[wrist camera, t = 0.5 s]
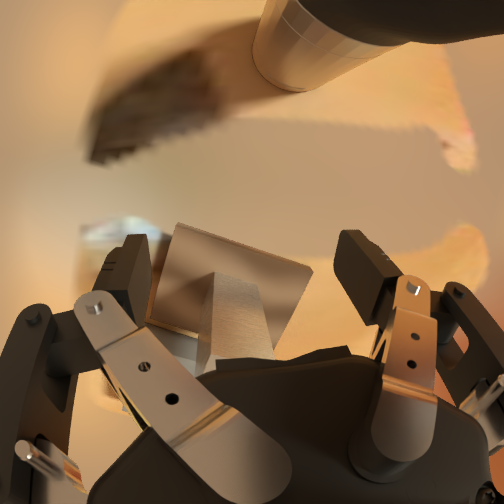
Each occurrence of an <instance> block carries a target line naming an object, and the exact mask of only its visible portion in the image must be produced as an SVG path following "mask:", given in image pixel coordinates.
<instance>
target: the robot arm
mask: <svg viewBox="0 0 504 504" xmlns="http://www.w3.org/2000/svg"><path fill="white" fill-rule="evenodd" d="M500 34H504V0H267V2H266V5H265V8H264V11H263V14H262V17H261V20H260V23H259V26H258V29H257V32H256V35H255V38H254V42H253V47H252V56H253V60H254V63H255V65H256V67H257V69H258V71H259V72H260V73H261V75H262V76H263V77H264V78H265V79H266V80H268V81H269V82H270V83H271V84H273V85H275V86H277V87H279V88H281V89H285V90H288V91H294V92H304V91H309V90H313V89H316V88H318V87H320V86H321V85H323V84H325V83H327V82H329V81H331V80H333V79H335V78H336V77H338V76H340V75H342V74H344V73H346V72H348V71H350V70H352V69H354V68H356V67H357V66H359V65H361V64H363V63H365V62H367V61H369V60H372V59H374V58H376V57H378V56H380V55H382V54H384V53H386V52H388V51H390V50H392V49H394V48H397V47H399V46H401V45H403V44H405V43H408V42H410V41H412V42H419V43H427V44H447V43H454V42H459V41H464V40H469V39H474V38H480V37H486V36H492V35H500ZM333 266H334V272H335V275H336V277H337V278H338V280H339V281H340V283H341V285H342V286H343V288H344V290H345V291H346V293H347V295H348V296H349V298H350V300H351V301H352V303H353V304H354V306H355V308H356V310H357V311H358V313H359V315H360V316H361V318H362V320H363V321H364V323H365V325H366V326H369V325H375V324H378V326H379V327H378V329H377V332H376V335H375V338H374V342H373V346H372V349H371V353H370V356H369V358H368V357H364V356H360V355H351V353H350V350H349V348H348V346H347V345H345V346H339V347H333V348H326V349H319V350H316V351H313V352H310V353H308V354H305V355H302V356H300V357H297V358H294V359H291V360H287V361H282V360H272V359H262V358H253V357H246V358H231V359H215V363H216V370H212V371H209V372H206V373H204V374H201V375H199V376H197V377H196V378H195V377H194V376H193V375H192V374H191V373H190V372H189V371H188V370H187V369H186V368H185V367H184V366H183V365H182V364H181V363H180V362H179V361H178V360H177V359H176V358H175V357H174V356H173V355H172V354H171V353H170V352H169V351H168V350H167V349H166V348H165V347H164V345H163V344H162V343H161V342H160V341H159V340H158V339H157V338H156V337H155V336H154V335H153V333H152V332H151V331H150V330H149V329H148V328H147V327H145V326H144V322H145V316H146V310H147V305H148V299H149V294H150V288H151V283H152V268H151V261H150V254H149V247H148V239H147V235H146V234H130V235H127V237H126V239H125V242H124V244H123V246H122V247H115V248H114V249H113V250H112V251H111V252H110V253H109V254H108V255H107V257H106V259H105V261H104V264H103V266H102V268H101V271H100V273H99V275H98V277H97V279H96V282H95V284H94V287H93V289H92V291H91V292H88V293H86V294H84V295H82V296H81V297H80V298H78V300H77V301H76V302H75V304H74V309H73V310H70V311H66V312H62V313H57V314H52V312H51V310H50V308H49V307H48V306H47V305H45V304H33V305H31V306H28V307H27V308H25V309H24V310H23V311H22V312H21V313H20V314H19V315H18V317H17V319H16V321H15V324H14V326H13V328H12V330H11V332H10V334H9V337H8V339H7V341H6V344H5V346H4V349H3V351H2V354H1V356H0V504H504V496H503V495H501V494H500V493H499V492H498V491H497V490H496V488H495V487H494V485H493V482H492V478H491V473H490V466H489V456H491V455H493V454H495V453H496V452H497V451H499V450H500V449H501V448H502V447H504V332H503V330H502V329H501V328H500V327H499V325H498V324H497V323H496V322H495V320H494V319H493V318H492V316H491V315H490V314H489V313H488V311H487V310H486V309H485V308H484V306H483V305H482V304H481V303H480V302H479V300H477V298H476V297H475V296H474V295H473V293H472V292H471V291H470V290H469V289H468V288H467V287H465V286H464V285H462V284H460V283H457V282H448V283H447V284H446V285H445V287H444V290H443V292H438V291H431V290H430V288H429V286H428V285H427V284H426V283H425V282H424V281H423V280H421V279H420V278H418V277H415V276H412V275H404V274H403V273H402V272H401V271H400V270H399V268H398V267H397V266H396V265H395V264H394V263H393V262H392V260H390V258H389V257H388V256H387V255H386V254H385V253H384V252H383V250H382V249H381V248H380V247H379V246H377V245H376V244H374V243H373V242H371V241H369V240H368V239H367V238H366V236H364V234H363V233H362V232H361V231H360V230H342V231H341V233H340V235H339V240H338V244H337V249H336V253H335V258H334V264H333ZM459 326H460V327H461V328H462V330H463V331H464V333H465V334H466V336H467V337H468V340H469V346H468V349H467V351H466V352H465V354H464V353H463V352H462V350H461V349H460V347H459V346H458V344H457V343H456V341H455V340H454V338H453V335H454V333H455V332H456V330H457V328H458V327H459ZM96 369H100V370H101V372H102V373H103V375H104V377H105V378H106V380H107V381H108V383H109V384H110V386H111V387H112V389H113V390H114V392H115V393H116V395H117V396H118V398H119V399H120V401H121V402H122V403H123V405H124V406H125V408H126V409H127V411H128V412H129V414H130V416H131V417H132V418H133V420H134V421H135V423H136V424H137V425H138V427H139V428H140V429H141V431H142V433H141V434H140V435H139V436H138V437H137V438H136V440H134V442H133V443H132V444H131V445H130V446H129V447H128V448H127V449H126V450H125V451H124V452H123V454H122V455H121V456H120V457H119V458H118V459H117V460H116V461H115V462H114V463H113V464H112V465H111V466H110V467H109V469H108V470H107V471H106V472H105V473H104V474H103V475H102V476H101V477H100V478H99V479H98V480H97V481H96V482H95V484H94V485H93V487H92V488H91V490H90V492H89V494H88V493H87V492H86V490H85V489H84V487H83V484H82V480H81V473H80V470H79V468H78V466H77V465H76V463H75V462H74V461H73V460H72V459H70V458H69V457H68V446H69V436H70V427H71V419H72V411H73V404H74V397H75V392H76V386H77V380H78V375H79V373H83V372H87V371H91V370H96ZM436 369H437V371H438V373H439V374H440V376H441V378H442V380H443V382H444V383H445V386H446V387H447V389H448V391H449V393H450V395H451V397H452V399H453V401H454V403H455V405H456V407H455V406H453V405H452V404H450V403H448V402H446V401H445V400H443V399H441V398H440V397H437V396H436V395H434V381H435V370H436Z"/></svg>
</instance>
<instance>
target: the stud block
mask: <svg viewBox="0 0 504 504" xmlns="http://www.w3.org/2000/svg"><path fill="white" fill-rule="evenodd" d="M214 272H218V273H221V274H225V275H228V276H231V277H234V278H237V279H240V280H243V281H247V282H250V283H253V284H256V285H258V290H259V294H260V298H261V302H262V306H263V310H264V315H265V319H266V323H267V327H268V331H269V335H270V339H271V344H272V348H273V350H274V348H275V347H276V345H277V343H278V341H279V339H280V337H281V335H282V333H283V332H284V330H285V328H286V326H287V324H288V322H289V320H290V318H291V316H292V314H293V312H294V310H295V308H296V306H297V304H298V302H299V300H300V298H301V296H302V294H303V292H304V290H305V288H306V286H307V284H308V282H309V280H310V278H311V276H312V274H313V271H312V269H311V268H310V267H309V266H306V265H303V264H300V263H297V262H294V261H291V260H288V259H285V258H282V257H279V256H276V255H273V254H271V253H268V252H265V251H262V250H258V249H256V248H253V247H250V246H247V245H244V244H241V243H238V242H235V241H232V240H229V239H226V238H223V237H220V236H217V235H214V234H211V233H209V232H206V231H203V230H200V229H197V228H194V227H191V226H188V225H185V224H182V223H177V225H176V227H175V230H174V233H173V237H172V240H171V243H170V246H169V250H168V253H167V257H166V260H165V263H164V267H163V271H162V274H161V278H160V281H159V285H158V289H157V292H156V296H155V300H154V304H153V308H152V312H151V316H150V318H151V319H154V320H157V321H160V322H163V323H166V324H170V325H173V326H176V327H179V328H183V329H186V330H189V331H193V332H196V333H199V325H200V316H201V308H202V305H203V303H204V300H205V297H206V294H207V291H208V289H209V286H210V283H211V280H212V278H213V275H214Z"/></svg>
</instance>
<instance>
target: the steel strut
mask: <svg viewBox="0 0 504 504" xmlns="http://www.w3.org/2000/svg"><path fill="white" fill-rule="evenodd" d="M246 357H253V358H262V359H272V360H275V356H274V352H273V348H272V344H271V339H270V335H269V331H268V327H267V323H266V319H265V315H264V310H263V306H262V302H261V298H260V294H259V290H258V285H256V284H253V283H250V282H247V281H243V280H240V279H237V278H234V277H231V276H228V275H225V274H221V273H218V272H214V275H213V278H212V280H211V283H210V286H209V289H208V291H207V294H206V297H205V300H204V303H203V305H202V308H201V316H200V325H199V334H198V344H197V354H196V365H195V376H194V377H195V378H196V377H197V376H199V375H201V374H204V373H206V372H209V371H212V370H216V363H215V359H231V358H246Z"/></svg>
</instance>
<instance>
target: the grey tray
mask: <svg viewBox="0 0 504 504" xmlns="http://www.w3.org/2000/svg"><path fill="white" fill-rule="evenodd" d="M144 326H145V327H147V328H148V329H149V330H150V331H151V332H152V333H153V335H154V336H155V337H156V338H157V339H158V340H159V341H160V342H161V343H162V344H163V345H164V347H165V348H166V349H167V350H168V351H169V352H170V353H171V354H172V355H173V356H174V357H175V358H176V359H177V360H178V361H179V362H180V363H181V364H182V365H183V366H184V367H185V368H186V369H187V370H188V371H189V372H190V373H191V374H192V375H193V376H195V365H196V354H197V344H198V339H196V338H192V337H189V336H186V335H182V334H179V333H176V332H172V331H169V330H166V329H163V328H160V327H157V326H154V325H151V324H148V323H145V322H144ZM122 410H123V411H126V412H128V411H127V409H126V408H125V406H124V405H123V409H122Z"/></svg>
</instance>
